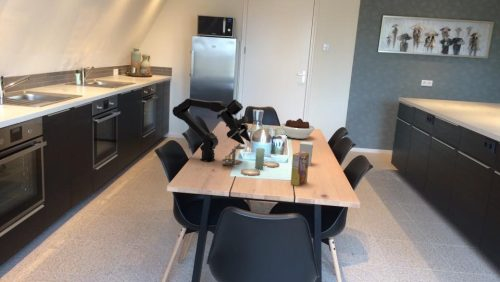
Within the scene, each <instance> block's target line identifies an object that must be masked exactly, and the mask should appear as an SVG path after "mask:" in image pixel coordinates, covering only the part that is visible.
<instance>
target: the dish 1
mask: <svg viewBox="0 0 500 282" xmlns="http://www.w3.org/2000/svg"><path fill="white" fill-rule="evenodd" d="M260 171H261V170H257V169H255V168H253V169H252V168H243V169H241V170H240V174H241V175H244V176H247V175H248V176H249V177H255V175H257V176H259V175H260V174H261V172H260ZM248 176H247V177H248Z"/></svg>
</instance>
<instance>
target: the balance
mask: <svg viewBox="0 0 500 282" xmlns="http://www.w3.org/2000/svg"><path fill="white" fill-rule="evenodd" d="M244 149H246V147H244V146H243V145H242V146H241V143H238V144H237V145H236V146H234V147H233V148H232V149H231V152H230V153H229V154H228V155H225V156H224V158H222V159H221V160H222V162H224V165H226V166H230V167H236V166H239V165H240V164H241V163H243V161H242V160H240V159H239V160H238V159H236V151H237V150H244ZM235 165H236V166H235Z"/></svg>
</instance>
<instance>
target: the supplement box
mask: <svg viewBox="0 0 500 282" xmlns="http://www.w3.org/2000/svg"><path fill="white" fill-rule="evenodd" d="M313 148H314V142H313V141H311V142H310V141H302V140H301V141H300V142H299V152H307V153H309V161H308V167H311V165H312V159H313V158H312V157H313ZM299 152H298V153H299Z"/></svg>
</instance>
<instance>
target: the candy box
mask: <svg viewBox="0 0 500 282" xmlns="http://www.w3.org/2000/svg"><path fill="white" fill-rule="evenodd" d="M291 160H292V161H291V172H290V173H291V175H290V176H291V177H290V185H293V186H296V187H298V186H301V185H304V184H307V183H308V174H309V166H308V161H309V153H307V152H295V153H293V154H292V159H291Z"/></svg>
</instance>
